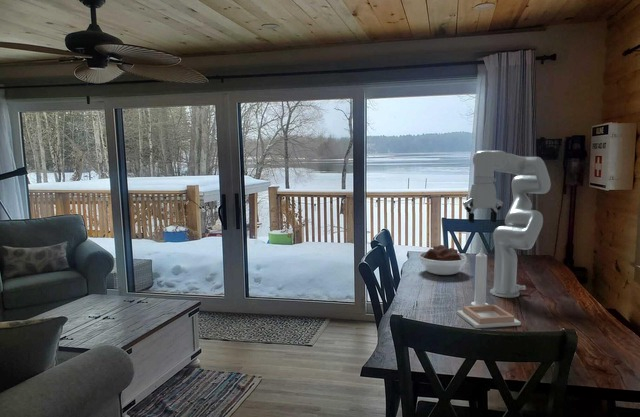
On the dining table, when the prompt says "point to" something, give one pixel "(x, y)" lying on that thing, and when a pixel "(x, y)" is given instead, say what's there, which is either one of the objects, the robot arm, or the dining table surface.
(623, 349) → the dining table surface
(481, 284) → the candle
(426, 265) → the white bowl with food
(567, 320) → the dining table surface
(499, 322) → the tray
